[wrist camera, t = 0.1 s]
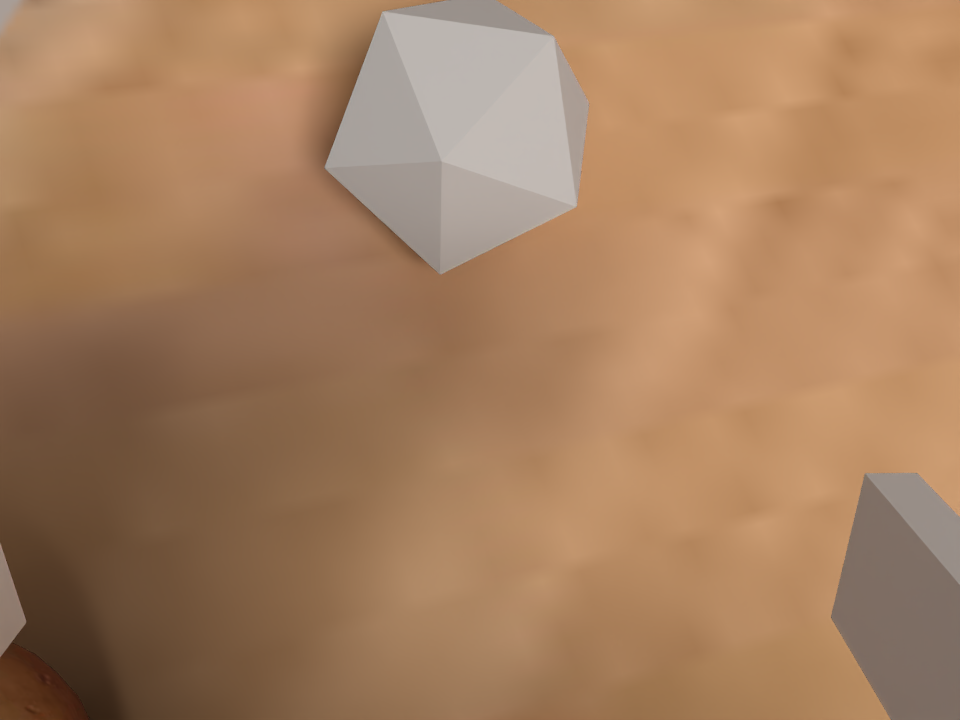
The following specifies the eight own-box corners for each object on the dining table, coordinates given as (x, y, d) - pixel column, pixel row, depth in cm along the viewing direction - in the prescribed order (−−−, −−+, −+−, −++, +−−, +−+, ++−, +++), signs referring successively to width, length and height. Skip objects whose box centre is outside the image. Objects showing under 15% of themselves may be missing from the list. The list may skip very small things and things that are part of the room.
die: (597, 115, 30) (486, -118, 24) (656, 255, 25) (531, 1, 18) (425, 207, 33) (279, 18, 26) (442, 354, 27) (262, 161, 20)
